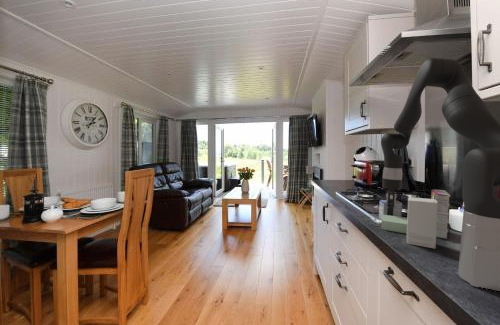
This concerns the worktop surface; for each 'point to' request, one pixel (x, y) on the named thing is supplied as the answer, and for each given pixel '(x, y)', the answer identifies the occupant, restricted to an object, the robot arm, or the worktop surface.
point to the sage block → (394, 223)
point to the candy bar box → (442, 212)
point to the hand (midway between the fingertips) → (389, 214)
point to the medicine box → (383, 208)
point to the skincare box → (422, 222)
